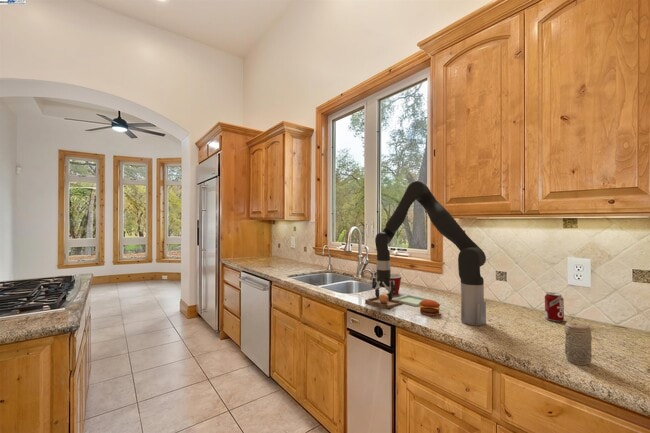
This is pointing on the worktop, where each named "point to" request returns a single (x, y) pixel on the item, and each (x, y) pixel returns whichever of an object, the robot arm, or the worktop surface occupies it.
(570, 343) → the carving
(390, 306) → the tray
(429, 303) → the hamburger
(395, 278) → the plastic cup
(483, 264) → the robot arm
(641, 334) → the worktop surface
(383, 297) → the ball
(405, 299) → the dish
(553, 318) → the soda can
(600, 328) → the worktop surface
